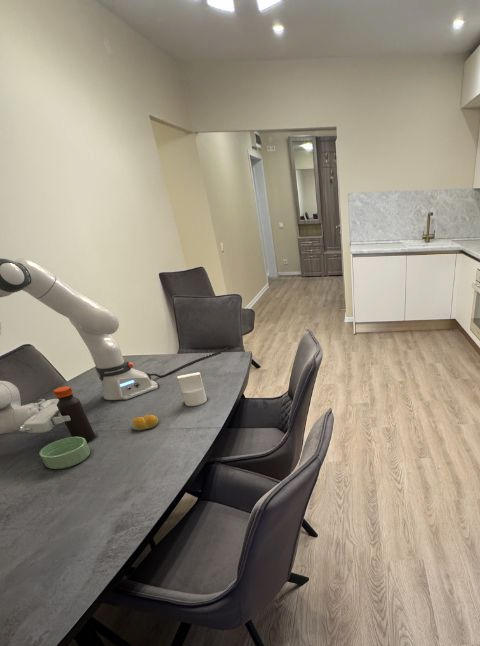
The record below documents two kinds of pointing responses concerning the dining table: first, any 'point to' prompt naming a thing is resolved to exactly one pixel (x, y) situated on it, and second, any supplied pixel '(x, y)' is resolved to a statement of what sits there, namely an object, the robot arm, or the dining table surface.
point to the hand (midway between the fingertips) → (75, 412)
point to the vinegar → (74, 414)
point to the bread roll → (145, 422)
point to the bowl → (65, 452)
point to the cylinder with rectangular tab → (192, 389)
